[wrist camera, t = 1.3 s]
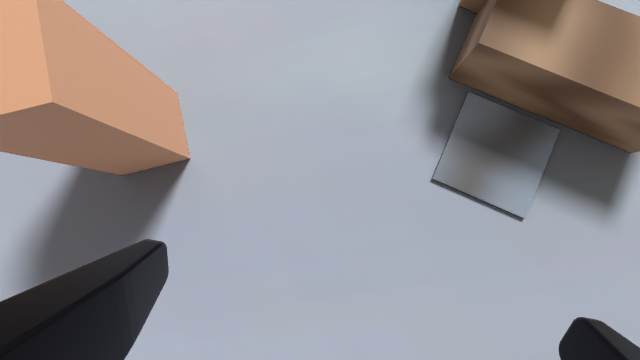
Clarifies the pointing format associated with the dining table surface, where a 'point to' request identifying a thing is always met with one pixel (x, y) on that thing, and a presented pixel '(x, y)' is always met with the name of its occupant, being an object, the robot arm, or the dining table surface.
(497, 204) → the structure
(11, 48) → the post
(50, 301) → the robot arm
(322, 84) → the dining table surface
